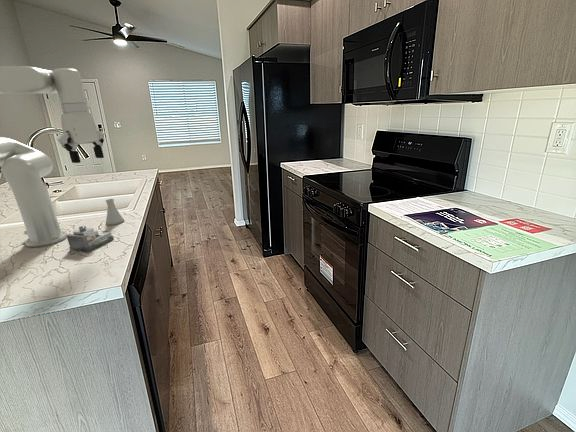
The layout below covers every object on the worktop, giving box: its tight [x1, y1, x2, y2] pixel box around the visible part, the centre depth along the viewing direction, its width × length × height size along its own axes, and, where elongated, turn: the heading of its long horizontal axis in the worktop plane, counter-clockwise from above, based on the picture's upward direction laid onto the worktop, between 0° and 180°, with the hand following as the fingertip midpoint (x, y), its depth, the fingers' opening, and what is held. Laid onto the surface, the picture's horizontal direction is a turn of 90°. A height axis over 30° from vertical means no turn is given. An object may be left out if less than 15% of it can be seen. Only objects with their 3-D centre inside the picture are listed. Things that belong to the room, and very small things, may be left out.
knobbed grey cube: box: [72, 225, 96, 242], centre depth 107 cm, size 4×6×6 cm, turn 74°
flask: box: [105, 198, 125, 226], centre depth 130 cm, size 7×7×10 cm
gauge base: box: [66, 230, 115, 253], centre depth 109 cm, size 11×8×6 cm
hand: (88, 160), depth 110 cm, fingers open, 9 cm apart
